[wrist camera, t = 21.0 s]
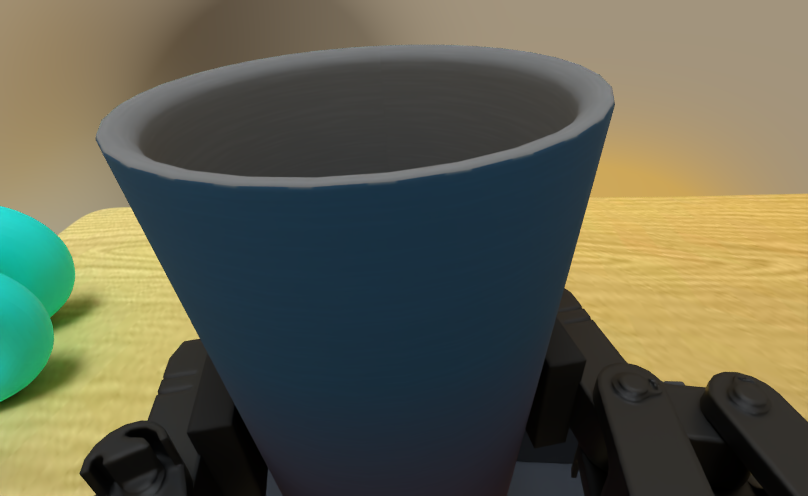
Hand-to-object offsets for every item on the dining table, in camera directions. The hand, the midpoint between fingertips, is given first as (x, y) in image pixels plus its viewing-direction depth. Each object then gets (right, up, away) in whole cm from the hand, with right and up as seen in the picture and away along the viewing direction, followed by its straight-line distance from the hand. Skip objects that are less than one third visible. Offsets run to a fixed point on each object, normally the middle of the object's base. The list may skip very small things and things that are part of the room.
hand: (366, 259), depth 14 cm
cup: (+1, -10, +1) cm, 10 cm away
